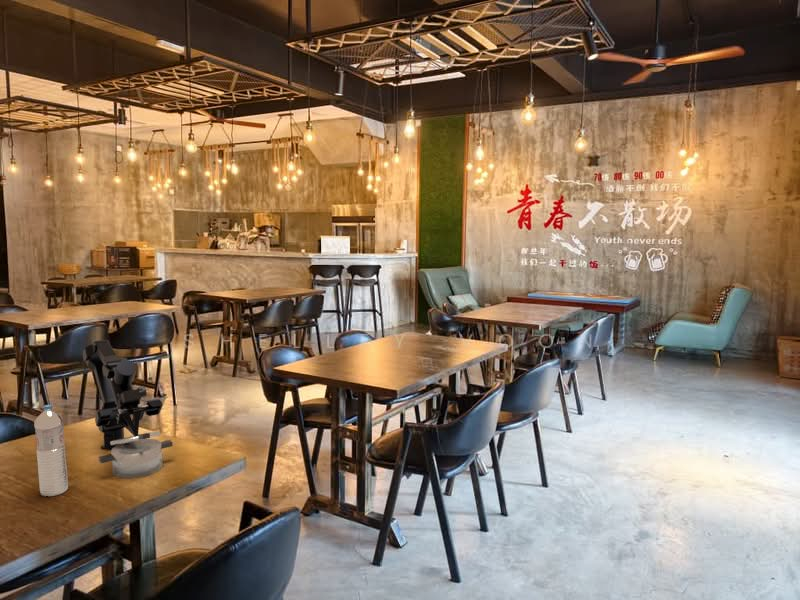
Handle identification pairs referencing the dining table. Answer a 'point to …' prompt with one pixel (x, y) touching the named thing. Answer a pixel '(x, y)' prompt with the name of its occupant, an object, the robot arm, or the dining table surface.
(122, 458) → the cooker pot
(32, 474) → the dining table surface
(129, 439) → the cooker lid
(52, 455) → the water bottle
